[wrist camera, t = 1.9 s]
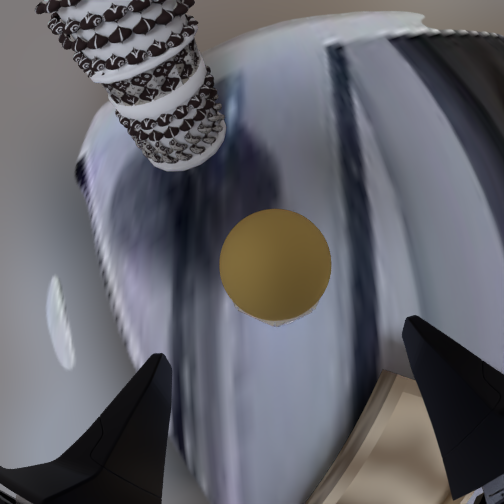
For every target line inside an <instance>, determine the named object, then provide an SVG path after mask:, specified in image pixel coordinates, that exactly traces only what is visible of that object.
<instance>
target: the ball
mask: <svg viewBox="0 0 504 504" xmlns="http://www.w3.org/2000/svg"><path fill="white" fill-rule="evenodd" d="M330 274H331V255H330V251H329V247H328V244H327V242H326V240H325V238H324V236H323V235H322V233H321V232H320V230H319V229H318V228H317V227H316V226H315V225H314V224H313V223H312V222H311V221H310V220H308V219H307V218H305V217H304V216H302V215H300V214H298V213H295V212H292V211H289V210H284V209H267V210H262V211H259V212H256V213H253V214H251V215H249V216H247V217H246V218H244V219H243V220H241V221H240V222H239V223H238V224H237V225H236V226H235V227H234V228H233V229H232V230H231V232H230V233H229V235H228V236H227V238H226V240H225V242H224V244H223V247H222V250H221V254H220V276H221V280H222V283H223V286H224V288H225V290H226V292H227V294H228V295H229V297H230V298H231V299H232V301H233V302H234V303H235V304H236V305H237V306H238V307H239V308H240V309H242V310H243V311H244V312H246V313H248V314H249V315H251V316H254V317H256V318H259V319H263V320H269V321H282V320H288V319H291V318H294V317H297V316H299V315H301V314H303V313H305V312H306V311H308V310H309V309H310V308H312V307H313V306H314V305H315V304H316V303H317V302H318V300H319V299H320V298H321V296H322V295H323V293H324V292H325V289H326V287H327V285H328V282H329V279H330Z"/></svg>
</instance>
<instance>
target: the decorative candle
mask: <svg viewBox="0 0 504 504" xmlns="http://www.w3.org/2000/svg"><path fill="white" fill-rule="evenodd" d="M44 2H46V3H47V4H46V3H44ZM44 2H43V3H42V2H40V3H39V4H38V5H37V7H36V8H35V12H36V13H37V14H42V13H44V12H45V13H52V12H53V13H52V15H51V20H50V21H49V23H48V28H49V29H52V33H53V34H55V35H58V34H61V35H60V37H59V42H60V43H62V47H63V48H64V49H66V50H67V49H71V48H72V50H73V51H75V54H74V56H73V60H74V61H76V62H78V66H79V67H80V68H81V69H83V71H84V72H86V73H87V75H88V77H90V78H91V79H92V81H93V82H94V83H101V84H102V85H103V87H104V88H105V90H106V91H107V92H108V93H109V97H108V98H109V100H110V101H111V103H112V104H113V105H114V107H115V108H116V111H115V114H116V116H117V117H120V118H119V121H120V123H121V124H122V125H124V127H125V128H128V134H129V135H131V136H132V139H133V140H134V141H135V143H136V145H137V147H138V148H140V149H141V150H142V152H143V154H144V156H145V157H147V158H148V159H149V160H150V161H151V163H152V164H153V165H154V166H155V167H157V168H160V169H162V170H165V171H185V170H188V169H190V168H193V167H196V166H199V165H201V164H202V163H204V162H205V161H206V160H208V159H209V158H210V157H212V156H213V155H214V154H215V153H216V152H217V150H218V149H219V147H220V146H221V145H222V143H223V142H224V139H225V133H226V124H225V122H224V118H225V116H224V115H222V114H221V113H219V112H218V111H219V110H221V107H222V105H221V104H220V103H214V101H215V100H217V99H218V95H217V90H216V89H215V88H213V86H214V81H213V80H214V77H213V76H212V75H210V72H211V70H210V68H209V67H208V66H205V64H204V60H203V58H202V55H201V53H200V50H198V49H197V46H196V42H195V39H194V36H195V34H196V32H197V30H198V27H197V24H198V22H197V21H196V20H194V18H193V16H190V15H187V14H185V13H186V12H187V11H188V9H189V8H190V7H191V6H193V5H194V3H195V1H194V0H44ZM59 19H62V21H63V23H62V22H60V20H59ZM70 34H71V35H72V37H73V38H74V40H75V41H72V40H71V38H70ZM84 55H85V56H84Z"/></svg>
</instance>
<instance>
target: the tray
mask: <svg viewBox="0 0 504 504" xmlns="http://www.w3.org/2000/svg"><path fill="white" fill-rule="evenodd" d="M442 459H443V458H442V456H441V453H440V449H439V446H438V443H437V440H436V436H435V433H434V430H433V427H432V424H431V421H430V418H429V415H428V412H427V410H426V407H425V404H424V401H423V398H422V396H421V393H420V390H419V388H418V385H417V383H416V380H413V379H410V378H407V377H404V376H401V375H398V374H395V373H393V372H390V371H387V370H384V369H383V370H382V372H381V374H380V377H379V379H378V381H377V383H376V385H375V388H374V390H373V392H372V394H371V396H370V398H369V400H368V402H367V404H366V406H365V408H364V410H363V412H362V414H361V416H360V418H359V420H358V421H357V423H356V425H355V427H354V429H353V431H352V432H351V434H350V436H349V438H348V439H347V441H346V443H345V445H344V446H343V448H342V450H341V451H340V453H339V454H338V456H337V458H336V459H335V461H334V462H333V464H332V466H331V467H330V469H329V470H328V472H327V473H326V475H325V476H324V478H323V479H322V481H321V482H320V483H319V485H318V486H317V488H316V489H315V490H314V492H313V493H312V495H311V496H310V497H309V499H308V500H307V501H306V503H305V504H466V503H467V502H468V500H469V499H470V497H471V496H472V494H473V493H474V491H473V492H471V493H469V494H467V495H465V496H463V497H461V498H458V499H456V500H454V501H453V499H452V496H451V491H450V487H449V483H448V479H447V475H446V471H445V467H444V464H443V460H442Z"/></svg>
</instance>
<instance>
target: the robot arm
mask: <svg viewBox="0 0 504 504" xmlns="http://www.w3.org/2000/svg"><path fill="white" fill-rule="evenodd" d="M402 338H403V341H404V345H405V348H406V352H407V355H408V359H409V362H410V366H411V369H412V372H413V375H414V378H415V380H416V383H417V385H418V388H419V390H420V393H421V396H422V398H423V401H424V404H425V407H426V410H427V412H428V415H429V418H430V421H431V424H432V427H433V430H434V433H435V436H436V440H437V443H438V446H439V449H440V453H441V456H442V458H443V459H442V460H443V464H444V467H445V471H446V475H447V479H448V483H449V487H450V491H451V496H452V499H453V501H454V500H456V499H458V498H461V497H463V496H465V495H467V494H469V493H471V492H473V491H475V490H477V489H478V488H480V487H482V489H483V492H484V493H482V494H480V495H479V496H477V497H476V499H475V502H474V504H504V374H502V373H501V372H499V371H497V370H496V369H494V368H493V367H491V366H490V365H489V364H487V363H486V362H484V361H482V360H481V359H480V358H479V357H477V356H476V355H474V354H473V353H471V352H470V351H469V350H467V349H466V348H464V347H463V346H461V345H460V344H459V343H457V342H456V341H454V340H453V339H451V338H450V337H448V336H447V335H445V334H444V333H442V332H441V331H440V330H438V329H437V328H435V327H434V326H432V325H431V324H429V323H428V322H426V321H425V320H423V319H422V318H420V317H419V316H417V315H414V316H410V317H407V318H406V320H405V323H404V327H403V331H402ZM171 402H172V368H171V365H170V363H169V362H168V360H167V358H166V356H165V355H164V354H163V353H155V354H152V355H151V356H150V358H149V359H148V360H147V361H146V362H145V363H144V365H143V366H142V367H141V368H140V369H139V370H138V372H137V373H136V374H135V375H134V376H133V378H132V379H131V380H130V381H129V382H128V383H127V384H126V386H125V387H124V388H123V389H122V390H121V391H120V393H119V394H118V395H117V396H116V397H115V398H114V400H113V401H112V402H111V403H110V404H109V405H108V407H107V408H106V409H105V410H104V411H103V413H102V414H101V415H100V417H98V418H97V420H96V421H95V422H94V423H93V424H92V425H91V427H90V428H89V429H88V430H87V431H86V432H85V433H84V434H83V435H82V436H81V437H80V438H79V439H78V440H77V441H76V442H75V443H74V444H73V445H72V446H71V447H70V448H69V449H67V450H66V451H65V452H64V453H63V454H62V455H61V456H60V457H59V458H57V459H56V460H54V461H51V462H48V463H44V464H39V465H34V466H29V467H23V468H17V469H6V468H3V467H1V466H0V483H1V484H2V485H3V486H5V487H6V488H8V489H9V490H11V491H13V492H14V493H16V494H17V495H16V498H14V497H12V496H10V495H8V494H7V493H5V492H3V491H1V490H0V504H161V501H162V499H161V498H162V488H163V476H164V465H165V455H166V447H167V438H168V430H169V422H170V414H171Z"/></svg>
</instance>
